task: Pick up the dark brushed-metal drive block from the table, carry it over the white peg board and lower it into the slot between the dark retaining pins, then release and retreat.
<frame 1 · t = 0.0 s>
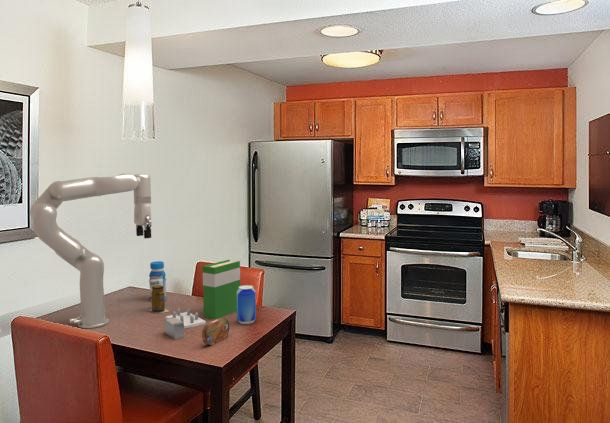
hand: (143, 236, 219), 37 cm above the table, tool pointing down, fingers open, 9 cm apart
tin: (216, 341, 187), on the table
white peg board: (185, 321, 211), on the table
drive: (174, 335, 194), on the table
condiment: (158, 311, 227), on the table
beer can: (246, 322, 211), on the table
beverage bottle: (158, 300, 245), on the table
hardback book: (222, 313, 223), on the table
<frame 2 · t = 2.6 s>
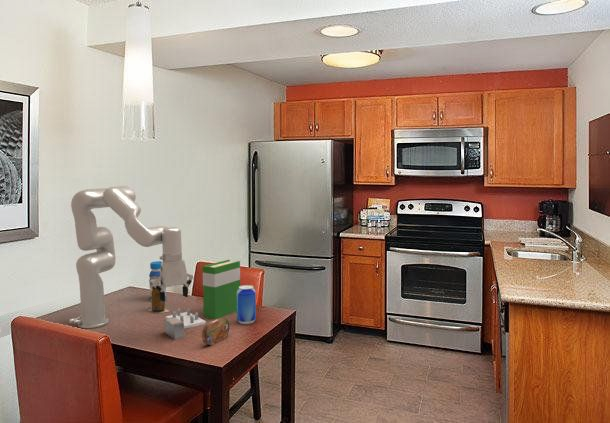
hand: (174, 298, 192), 15 cm above the table, tool pointing down, fingers open, 9 cm apart
nothing on the table moved.
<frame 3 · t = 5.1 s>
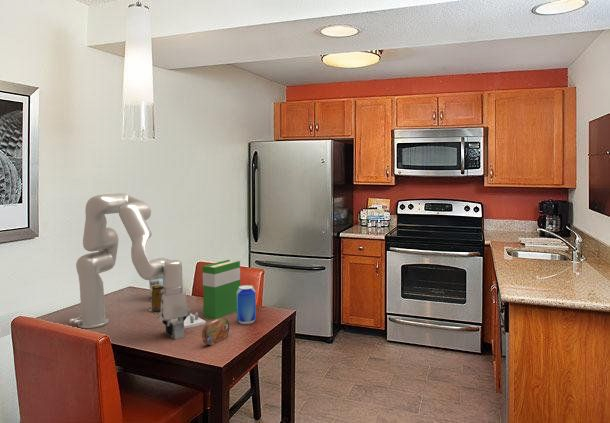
hand: (174, 333, 194), 1 cm above the table, tool pointing down, fingers closed on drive, 4 cm apart
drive: (174, 335, 194), on the table, touching gripper
everything else where it was.
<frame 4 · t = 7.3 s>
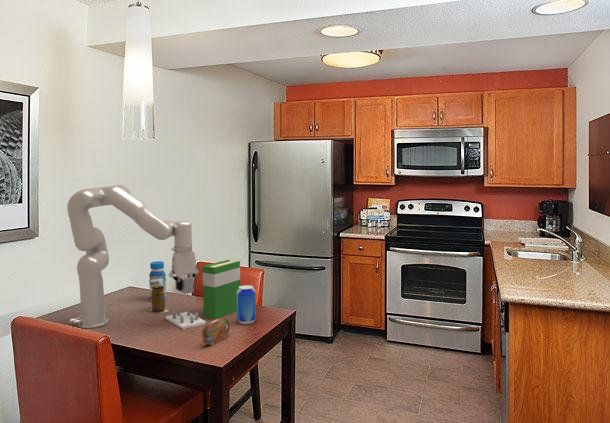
hand: (184, 288, 209), 15 cm above the table, tool pointing down, fingers closed on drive, 4 cm apart
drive: (184, 290, 209), point 14 cm above the table, touching gripper
everything else where it was.
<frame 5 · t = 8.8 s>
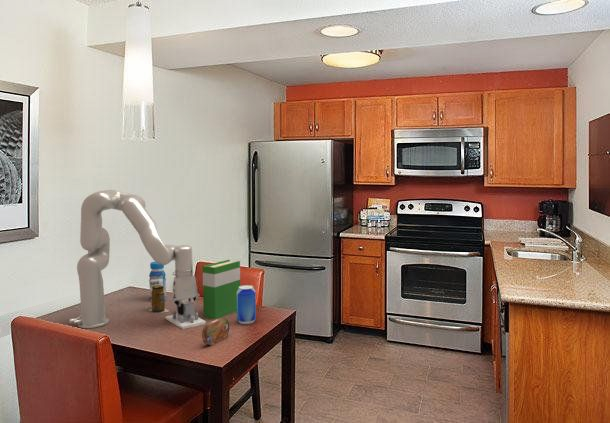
hand: (185, 312, 211), 4 cm above the table, tool pointing down, fingers closed on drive, 4 cm apart
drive: (185, 314, 211), point 3 cm above the table, touching gripper
everything else where it was.
when the fingers open (3 cm above the table, at t = 9.8 s): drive stays where it is, resting on white peg board.
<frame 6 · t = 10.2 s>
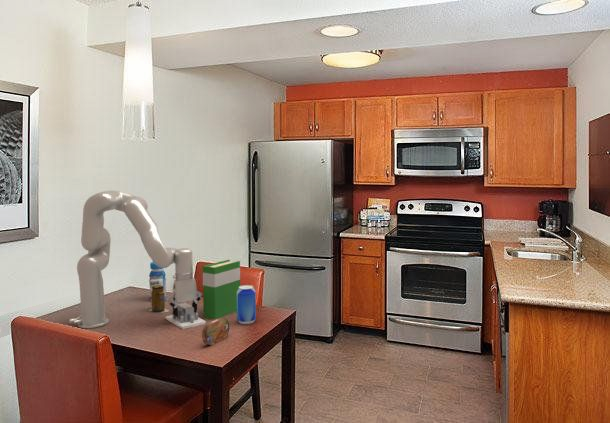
hand: (185, 313, 211), 3 cm above the table, tool pointing down, fingers open, 8 cm apart
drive: (185, 318, 211), point 1 cm above the table, touching white peg board
everything else where it was.
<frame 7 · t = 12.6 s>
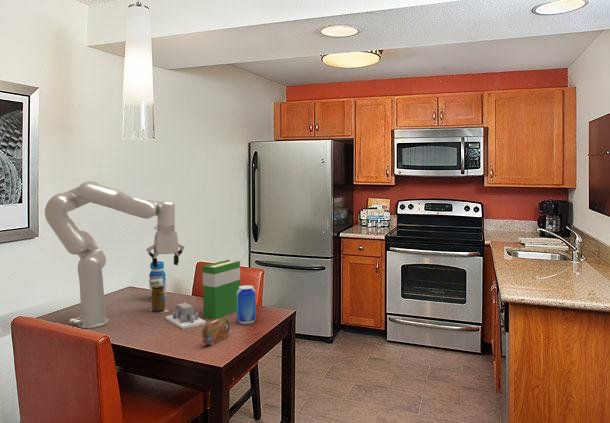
hand: (165, 265, 213), 25 cm above the table, tool pointing down, fingers open, 9 cm apart
nothing on the table moved.
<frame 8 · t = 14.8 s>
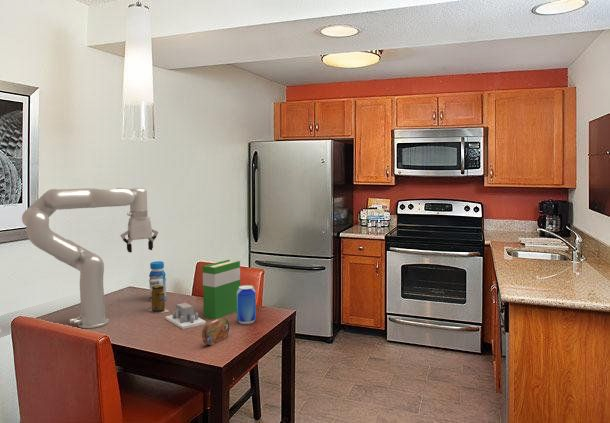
hand: (140, 250, 219), 30 cm above the table, tool pointing down, fingers open, 9 cm apart
nothing on the table moved.
at the end: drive 0.1 cm off-centre on the white peg board, point 1.2 cm above the white peg board's base; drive tilted 0°; the gripper is holding nothing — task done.
